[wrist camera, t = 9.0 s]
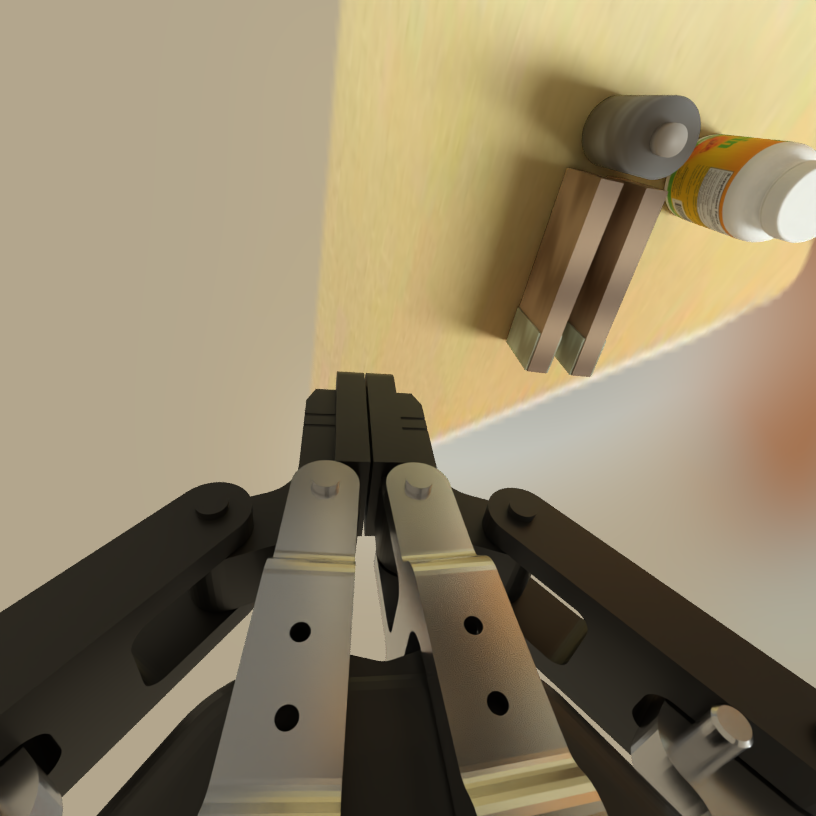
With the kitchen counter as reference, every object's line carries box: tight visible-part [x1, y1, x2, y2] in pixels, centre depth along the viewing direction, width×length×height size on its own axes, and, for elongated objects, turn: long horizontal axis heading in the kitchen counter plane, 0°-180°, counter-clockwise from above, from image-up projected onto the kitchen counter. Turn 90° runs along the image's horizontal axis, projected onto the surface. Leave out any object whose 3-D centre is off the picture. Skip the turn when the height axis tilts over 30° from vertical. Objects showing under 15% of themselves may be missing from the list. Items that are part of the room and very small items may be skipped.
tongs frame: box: [555, 95, 701, 377], centre depth 31 cm, size 18×4×7 cm, turn 171°
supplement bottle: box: [664, 134, 816, 243], centre depth 28 cm, size 5×5×10 cm
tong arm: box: [506, 168, 624, 373], centre depth 32 cm, size 13×2×5 cm, turn 169°
